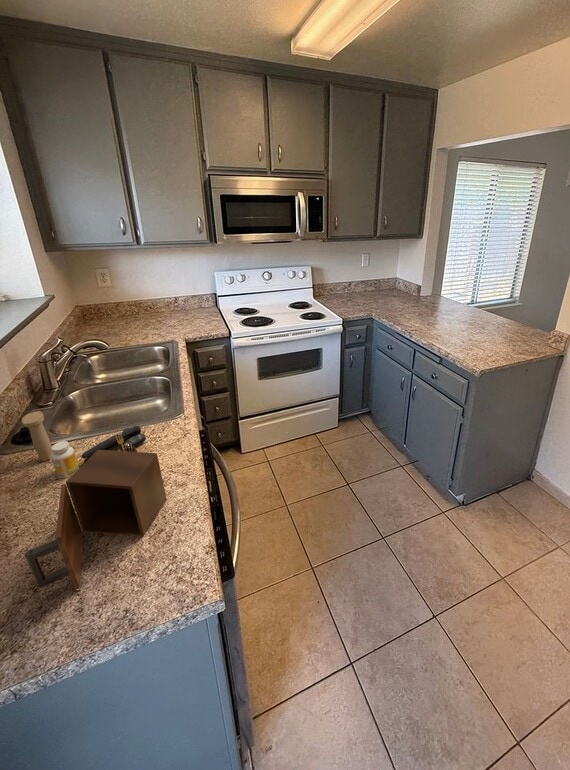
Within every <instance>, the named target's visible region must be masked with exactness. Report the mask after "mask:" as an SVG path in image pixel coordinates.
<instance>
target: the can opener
mask: <svg viewBox="0 0 570 770" xmlns="http://www.w3.org/2000/svg"><path fill="white" fill-rule="evenodd" d="M120 432H121V435H122V438H123V440H124V442H123V443H122V445H123V447H124V448H125V447H128V446H129V447H131V446H132V447H135V448H137V447H139V446H140V445H142V444H143V443H144V442H146V440H147V437H146V434H144V433H142V428H141V426H140V425H134V426H132V427H124V428H123V430H122V431H120ZM120 432H118V434H119V436H120ZM116 435H117V434H116ZM117 438H118V435H117ZM120 439H121V436H120ZM118 441H119V438H118ZM128 443H129V444H130V445H129V444H128ZM126 444H127V445H126ZM120 447H122V446H121V444H118V442H117V439H116V436H115V434H114V435H113V436H110V437H109V438H107V439H104V440H103V441H101V442H99V443H97V444H96V445H94V446H92V447H90V448H88V449H87V450H86V451H84V452H83V453H82V454H81V456H80V458H81V459H84V460H83V464H84V463H85V462H86V461H87V460H88V459H89V458H90V457H91V456H92V455H93V454H94V453H95V452H96V451H97V450H111V451H115V450H116V449H118V448H120Z"/></svg>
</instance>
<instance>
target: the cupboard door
mask: <svg viewBox="0 0 570 770" xmlns="http://www.w3.org/2000/svg"><path fill="white" fill-rule="evenodd" d="M56 551H60V554H61V556H62V560H63V562H64V565H65V566H64V567H61V568H59V569H56V570H54V571H51V572H49V573H47V574H44V571H43V569H42V566H41V564H40V562H39V560H38V559H39V558H41V557H44V556H46V555H50V554H52V553H55V552H56ZM82 556H83V531H82V528H81V525H80V522H79V519H78V517H77V514H76V511H75V508H74V505H73V502H72V499H71V496H70V493H69V490H68V488H67V484H66V483H63V484H61V486H60V494H59V502H58V512H57V522H56V532H55V539H54V540H52V541H49V542H47V543H44V544H42V545H38V546H36V547H34V548H31V549H28V550H26V552H25V553H24V557H25V559H26V562H27V565H28V566H29V569H30V571H31V573H32V576H33V577H34V580H35V582H36V584H37V587H38V588H43V587H46V586H48V585H51V584H53V583H55V582H58V581H60V580H63V579H64V578H67V577H70V580H71V582H72V585H73V588H74V590H75V589H78V588H79V587H80V576H81V577H82V563H81V561H82V559H83V557H82ZM82 562H83V561H82Z"/></svg>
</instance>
